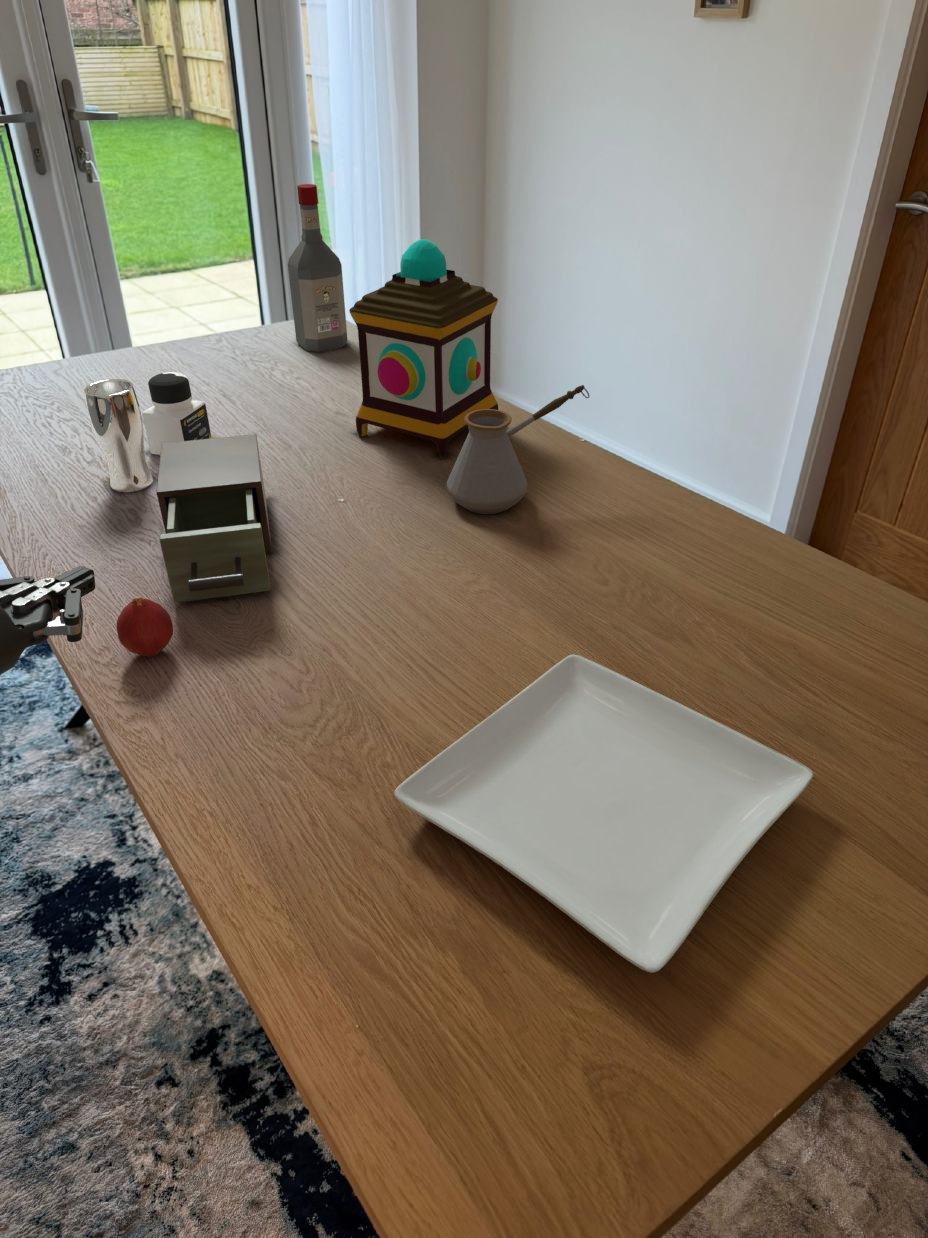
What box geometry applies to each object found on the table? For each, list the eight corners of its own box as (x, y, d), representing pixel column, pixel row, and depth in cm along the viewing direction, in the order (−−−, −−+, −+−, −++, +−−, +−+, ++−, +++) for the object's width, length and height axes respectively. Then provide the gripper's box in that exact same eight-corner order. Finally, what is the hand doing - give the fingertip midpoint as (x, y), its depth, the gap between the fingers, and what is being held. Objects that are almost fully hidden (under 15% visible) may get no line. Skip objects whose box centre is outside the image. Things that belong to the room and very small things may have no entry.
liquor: (351, 347, 183) (339, 187, 165) (310, 355, 179) (292, 192, 162) (334, 335, 189) (320, 179, 172) (293, 342, 186) (275, 184, 168)
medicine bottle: (189, 460, 140) (174, 387, 133) (150, 454, 142) (133, 381, 135) (213, 442, 146) (200, 370, 139) (175, 436, 147) (161, 365, 140)
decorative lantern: (446, 465, 138) (442, 263, 121) (344, 438, 147) (327, 245, 129) (509, 421, 152) (514, 233, 135) (413, 398, 161) (406, 218, 143)
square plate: (810, 797, 82) (819, 767, 80) (648, 1005, 65) (655, 975, 63) (570, 673, 97) (573, 645, 94) (389, 818, 80) (387, 787, 78)
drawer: (273, 614, 104) (263, 550, 99) (172, 628, 102) (157, 562, 97) (265, 535, 119) (256, 476, 114) (177, 546, 117) (163, 485, 112)
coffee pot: (467, 528, 122) (467, 425, 114) (434, 493, 131) (431, 395, 122) (600, 497, 130) (610, 398, 121) (560, 465, 138) (567, 371, 129)
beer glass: (98, 491, 132) (72, 394, 123) (123, 471, 137) (100, 376, 128) (141, 496, 130) (117, 398, 122) (165, 476, 136) (143, 380, 127)
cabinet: (272, 554, 117) (261, 481, 111) (173, 566, 115) (156, 492, 109) (266, 502, 129) (256, 433, 123) (176, 512, 126) (161, 443, 120)
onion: (123, 645, 101) (106, 586, 97) (175, 634, 103) (161, 576, 98) (126, 676, 97) (109, 615, 92) (181, 664, 98) (167, 604, 94)
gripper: (-111, 673, 76) (38, 595, 91) (15, 713, 73) (148, 625, 88) (-129, 595, 73) (28, 527, 88) (1, 633, 70) (143, 556, 84)
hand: (88, 576), depth 88 cm, fingers closed
